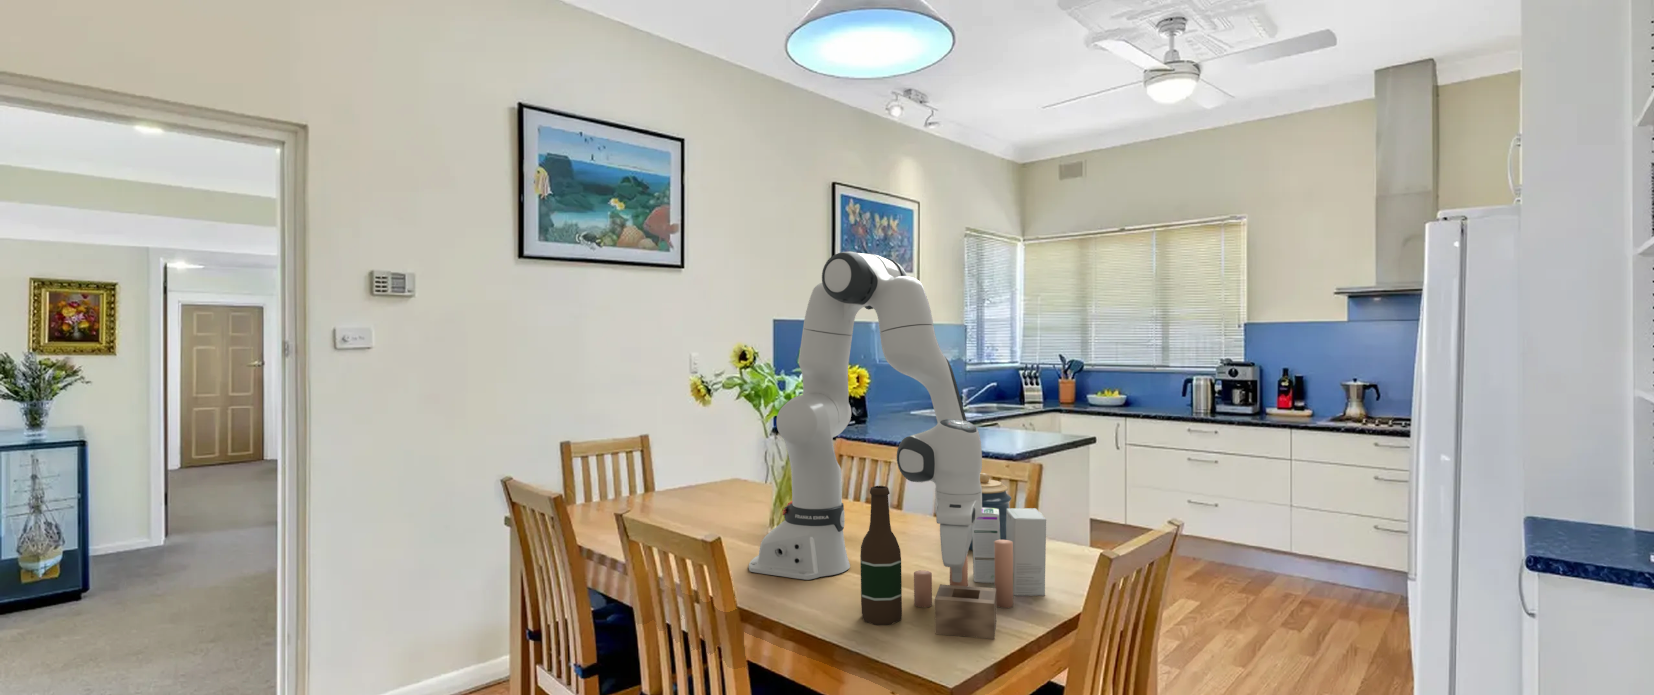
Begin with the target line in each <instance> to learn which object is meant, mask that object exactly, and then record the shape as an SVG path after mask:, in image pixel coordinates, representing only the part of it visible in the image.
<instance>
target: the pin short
mask: <svg viewBox="0 0 1654 695" xmlns="http://www.w3.org/2000/svg"><path fill="white" fill-rule="evenodd" d="M932 577H933V574H932V572H931V571H929V570H924V569H923V570H922V569H921V570H916V571H915V570H914V572H913V602H914V603H913V604H914V606H915V607H919V608H929V607H932V606H933V578H932Z"/></svg>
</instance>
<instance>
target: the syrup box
mask: <svg viewBox="0 0 1654 695" xmlns="http://www.w3.org/2000/svg"><path fill="white" fill-rule="evenodd" d="M996 540H1001V538H1000V520H999V509H997V508H982V515H981V516H980V517H978V518H977V519H976V520H975V524H974V525H972V541H973V550H972V564H973V565H972V570H973V582H974V583H981V584H982V583H984V584H995V544H994V541H996Z"/></svg>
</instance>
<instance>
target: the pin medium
mask: <svg viewBox="0 0 1654 695" xmlns="http://www.w3.org/2000/svg"><path fill="white" fill-rule="evenodd" d="M968 556H969V555H968V553H967V556H966V559H965V562H964V566H963V567H962V581H961V582H953V580H952V569H951V567H949V585H956V586H969V581H968V580H969V578H968V577H969V568H968V567H969V565H968V564H969V560H968V559H969V558H968Z"/></svg>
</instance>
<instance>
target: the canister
mask: <svg viewBox="0 0 1654 695" xmlns="http://www.w3.org/2000/svg"><path fill="white" fill-rule="evenodd" d="M980 484H981V487H982V508H997V509H999V520H1000V538H1001V540H1006V519H1007V509H1009V508H1010V502H1011V500H1012V496H1011V495H1010V494H1008V493H1007V491H1008V489H1009V488H1008V486H1006V485H1005V484H1003V482H1001V481H1000V480H999V481H998V480H994V479H990V476H989V474H988V473H985V472H981V473H980ZM969 550H970V551H973V541H971V544H970V547H969Z"/></svg>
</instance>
